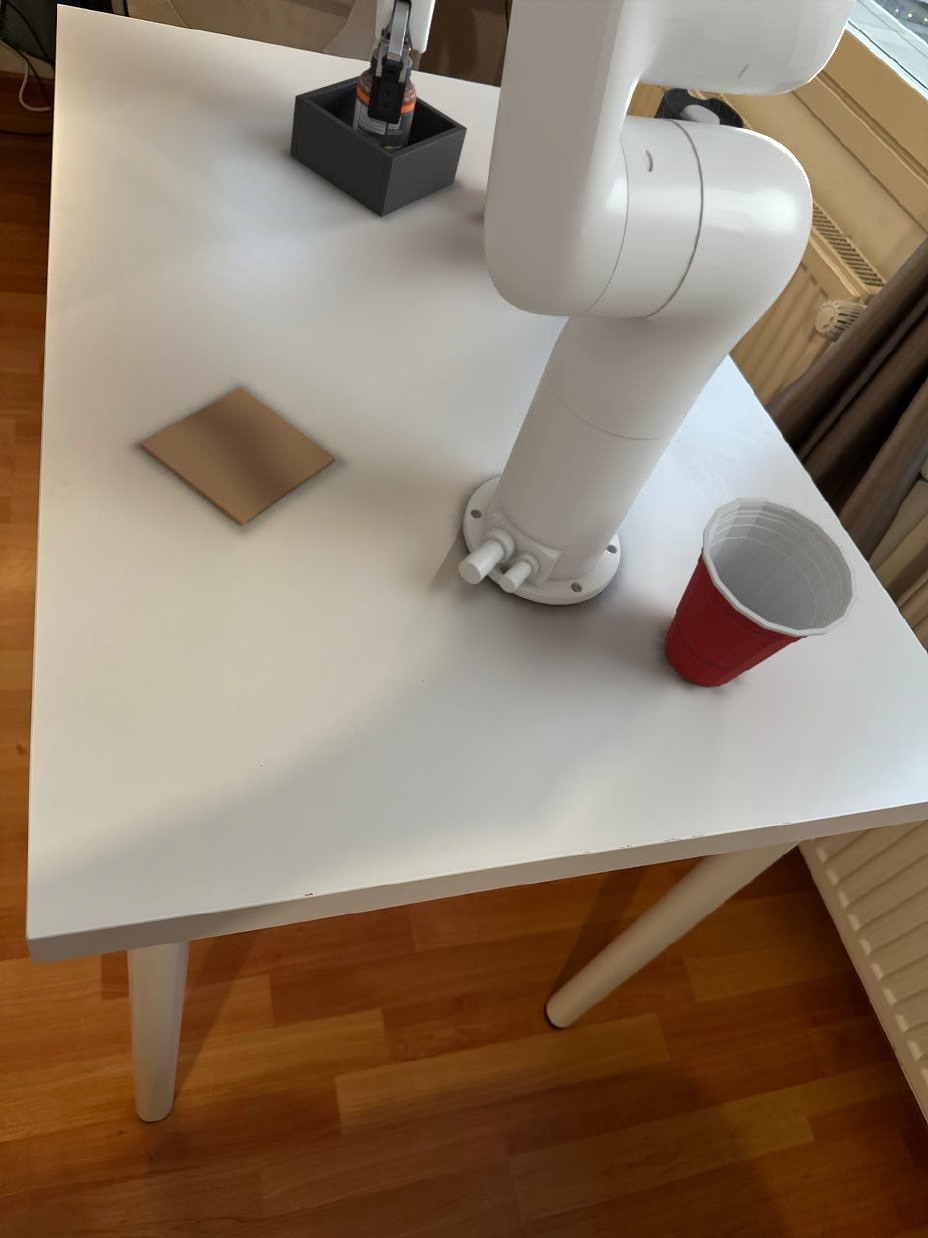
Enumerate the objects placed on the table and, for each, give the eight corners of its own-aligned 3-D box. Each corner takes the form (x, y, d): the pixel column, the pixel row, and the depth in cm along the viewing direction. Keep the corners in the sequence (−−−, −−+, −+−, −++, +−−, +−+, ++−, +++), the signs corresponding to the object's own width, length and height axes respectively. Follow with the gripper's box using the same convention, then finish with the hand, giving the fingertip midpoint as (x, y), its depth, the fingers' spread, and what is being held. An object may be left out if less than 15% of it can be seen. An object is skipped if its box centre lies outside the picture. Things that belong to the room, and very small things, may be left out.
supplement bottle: (370, 148, 96) (389, 36, 87) (412, 175, 95) (435, 64, 86) (334, 162, 93) (350, 46, 84) (377, 190, 92) (398, 76, 83)
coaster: (241, 526, 62) (242, 522, 62) (141, 447, 64) (141, 443, 64) (335, 461, 68) (335, 457, 68) (240, 390, 70) (240, 386, 69)
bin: (381, 216, 89) (392, 159, 84) (289, 154, 91) (295, 95, 87) (453, 182, 96) (467, 128, 92) (366, 126, 99) (375, 69, 94)
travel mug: (616, 340, 87) (711, 139, 71) (564, 294, 89) (645, 90, 74) (663, 321, 91) (762, 128, 75) (612, 278, 93) (698, 82, 78)
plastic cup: (616, 681, 63) (692, 580, 53) (647, 578, 69) (720, 472, 60) (754, 745, 62) (856, 656, 53) (773, 635, 69) (866, 539, 60)
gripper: (463, -65, 70) (416, 156, 84) (467, -131, 80) (425, 76, 94) (370, -95, 69) (339, 135, 83) (386, -158, 79) (356, 56, 93)
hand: (385, 102), depth 88 cm, fingers closed on supplement bottle, 6 cm apart
